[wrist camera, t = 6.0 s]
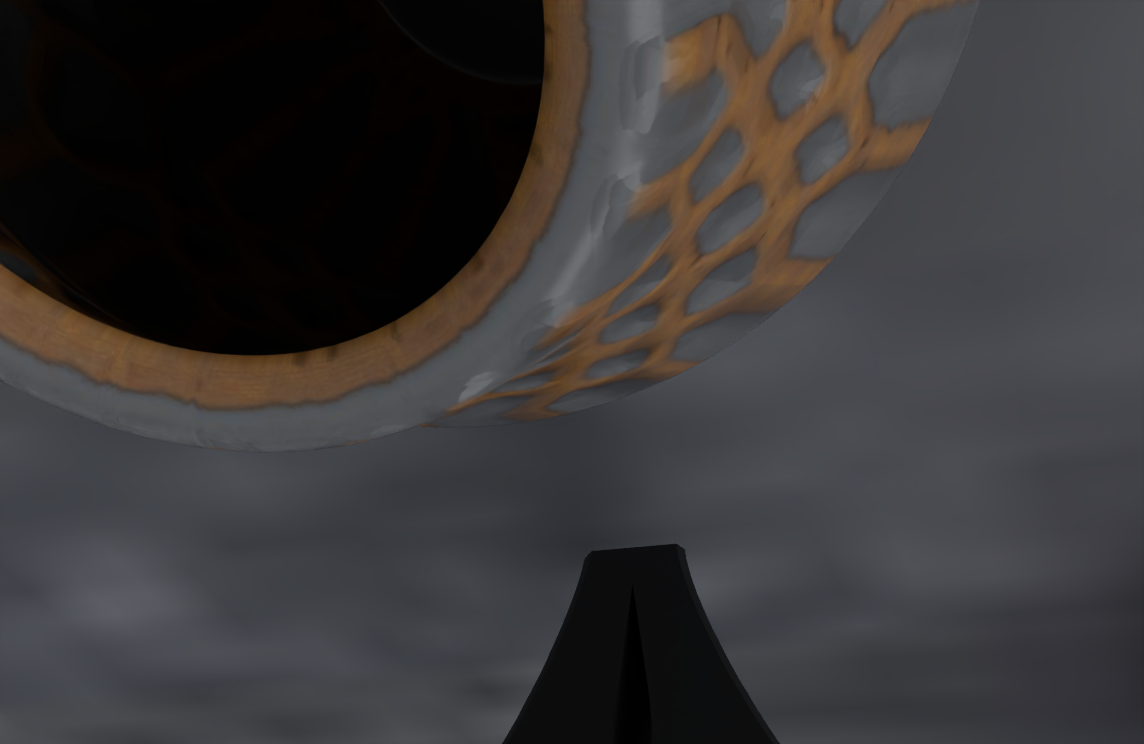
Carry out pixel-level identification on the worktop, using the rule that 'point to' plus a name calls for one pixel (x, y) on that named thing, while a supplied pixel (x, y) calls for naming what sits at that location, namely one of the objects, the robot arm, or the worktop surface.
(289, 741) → the worktop surface
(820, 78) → the vase
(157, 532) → the worktop surface
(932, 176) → the worktop surface
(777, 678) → the worktop surface
